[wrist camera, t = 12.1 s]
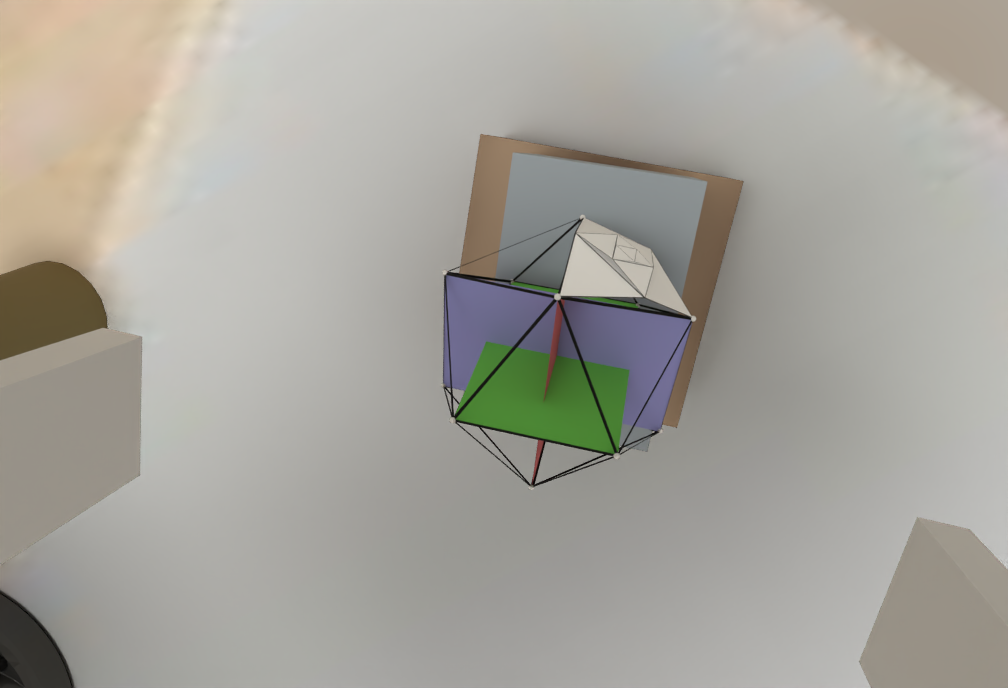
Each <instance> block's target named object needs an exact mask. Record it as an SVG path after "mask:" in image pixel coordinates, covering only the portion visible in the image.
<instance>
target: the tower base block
mask: <svg viewBox="0 0 1008 688" xmlns="http://www.w3.org/2000/svg"><path fill="white" fill-rule="evenodd" d="M513 153H530V154H540V155H547V156H553V157H560V158H567V159H573V160H580V161H587V162H593V163H600V164H607V165H614V166H620V167H627V168H634V169H640V170H647V171H654V172H660V173H667V174H674V175H681V176H687V177H694V178H697V179H700V180H704V181H707V186H706V191H705V195H704V200H703V204H702V209H701V213H700V218H699V222H698V227H697V231H696V236H695V240H694V245H693V249H692V254H691V258H690V263H689V267H688V271H687V276H686V280H685V285H684V289H683V294H682V298H681V299H682V300H683V302H684V304H685V305H686V307H687V309H688V310H689V312H690V314H691V315H692V316H695V317H696V321H694V322H692V326H691V329H690V333H689V336H688V339H687V343H686V346H685V349H684V353H683V356H682V359H681V363H680V366H679V370H678V373H677V376H676V380H675V383H674V386H673V390H672V393H671V397H670V400H669V403H668V407H667V410H666V413H665V417H664V420H663V425H667V426H672V427H676V428H677V426H678V422H679V418H680V415H681V411H682V407H683V404H684V400H685V396H686V392H687V389H688V385H689V381H690V378H691V374H692V370H693V366H694V363H695V359H696V355H697V352H698V348H699V344H700V341H701V337H702V333H703V329H704V326H705V322H706V318H707V315H708V311H709V307H710V303H711V300H712V296H713V292H714V289H715V285H716V281H717V277H718V274H719V270H720V266H721V263H722V259H723V255H724V252H725V248H726V244H727V240H728V237H729V233H730V229H731V226H732V222H733V218H734V214H735V211H736V207H737V203H738V200H739V196H740V192H741V189H742V185H743V181H740V180H735V179H730V178H725V177H720V176H714V175H708V174H703V173H697V172H692V171H686V170H680V169H675V168H669V167H664V166H658V165H653V164H647V163H641V162H636V161H630V160H625V159H619V158H614V157H608V156H602V155H597V154H591V153H586V152H580V151H574V150H569V149H563V148H558V147H552V146H547V145H541V144H535V143H530V142H524V141H519V140H513V139H507V138H502V137H496V136H490V135H483V134H481V135H480V141H479V148H478V154H477V161H476V167H475V174H474V180H473V187H472V194H471V200H470V207H469V213H468V220H467V226H466V233H465V239H464V246H463V252H462V259H461V265H460V266H461V267H460V272H459V273H460V274H467V275H475V276H483V277H490V278H495V276H496V269H497V262H498V255H499V252H497V251H499V248H500V240H501V233H502V226H503V219H504V212H505V205H506V197H507V190H508V183H509V176H510V169H511V162H512V154H513ZM494 252H496V253H494ZM492 253H494V254H492ZM490 254H491V255H490ZM487 255H489V256H487ZM485 256H486V257H485ZM482 257H484V258H482ZM480 258H481V259H480ZM477 259H479V260H477ZM475 260H476V261H475ZM472 261H474V262H472ZM470 262H471V263H470ZM467 263H469V264H467ZM465 264H466V265H465ZM462 265H464V266H462ZM482 280H484V279H482ZM487 281H492V280H487ZM492 282H495V281H492ZM678 314H681V313H679V312H678ZM681 315H683V314H681ZM685 316H686V315H685Z"/></svg>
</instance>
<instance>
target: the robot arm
mask: <svg viewBox="0 0 1008 688" xmlns="http://www.w3.org/2000/svg"><path fill="white" fill-rule="evenodd" d="M141 376H142V337H141V336H137V335H132V334H128V333H124V332H119V331H115V330H111V329H107V328H101V329H97V330H94V331H91V332H88V333H85V334H82V335H79V336H75V337H72V338H69V339H66V340H63V341H60V342H57V343H53V344H50V345H47V346H44V347H41V348H38V349H35V350H31V351H28V352H25V353H22V354H19V355H16V356H13V357H9V358H6V359H3V360H0V565H2V564H3V563H5V562H6V561H8V560H9V559H11V558H12V557H14V556H16V555H17V554H19V553H20V552H22V551H23V550H25V549H26V548H28V547H29V546H31V545H33V544H34V543H36V542H37V541H39V540H40V539H42V538H43V537H45V536H46V535H48V534H50V533H51V532H53V531H54V530H56V529H57V528H59V527H60V526H62V525H63V524H65V523H67V522H68V521H70V520H71V519H73V518H74V517H76V516H77V515H79V514H81V513H82V512H84V511H85V510H87V509H88V508H90V507H91V506H93V505H94V504H96V503H98V502H99V501H101V500H102V499H104V498H105V497H107V496H108V495H110V494H111V493H113V492H115V491H116V490H118V489H119V488H121V487H122V486H124V485H125V484H127V483H128V482H130V481H132V480H133V479H135V478H136V477H138V476H139V475H140V435H141ZM859 663H860V665H861V667H862V669H863V671H864V673H865V675H866V678H867V680H868V682H869V684H870V686H871V688H1008V570H1007V569H1006V567H1005V566H1004V565H1003V564H1002V563H1001V562H1000V561H999V560H998V559H997V558H996V557H995V556H994V555H993V554H992V553H991V551H990V550H989V549H988V548H987V547H986V546H985V545H984V544H983V543H982V542H981V541H980V540H979V539H978V538H977V537H976V536H975V534H974V533H973V532H972V531H971V530H970V529H966V528H962V527H957V526H953V525H949V524H945V523H940V522H936V521H932V520H927V519H923V518H919V517H917V519H916V522H915V524H914V527H913V529H912V532H911V534H910V536H909V539H908V541H907V544H906V546H905V549H904V551H903V554H902V556H901V559H900V561H899V564H898V566H897V569H896V571H895V574H894V576H893V579H892V581H891V584H890V586H889V589H888V591H887V594H886V596H885V599H884V601H883V604H882V606H881V609H880V611H879V614H878V616H877V619H876V621H875V623H874V626H873V628H872V631H871V633H870V636H869V638H868V641H867V643H866V646H865V648H864V651H863V653H862V656H861V658H860V661H859ZM0 688H71V684H70V681H69V677H68V674H67V671H66V669H65V666H64V664H63V662H62V660H61V658H60V656H59V654H58V652H57V651H56V649H55V647H54V646H53V644H52V643H51V641H50V640H49V638H48V637H47V636H46V634H45V633H44V632H43V631H42V629H41V628H40V627H39V626H38V625H37V624H36V623H35V622H34V620H33V619H32V618H30V617H29V616H28V615H27V614H26V613H25V612H24V611H23V610H22V609H21V608H19V607H18V606H17V605H16V604H14V603H13V602H12V601H10V600H9V599H7V598H6V597H4V596H3V595H1V594H0Z"/></svg>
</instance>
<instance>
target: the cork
mask: <svg viewBox="0 0 1008 688" xmlns="http://www.w3.org/2000/svg"><path fill="white" fill-rule="evenodd" d="M101 328H107V316H106V313H105V310H104V307H103V304H102V301H101V299H100V297H99V295H98V294H97V292H96V291H95V289H94V288H93V286H92V284H91V283H90V282H89V281H87V280H86V279H85V278H84V277H83V276H82V275H81V274H80V273H79V272H78V271H76V270H74V269H72V268H70V267H68V266H66V265H64V264H62V263H56V262H50V261H45V262H40V263H34V264H31V265H28V266H25V267H22V268H19V269H17V270H14V271H11V272H8V273H5V274H2V275H0V360H3V359H6V358H9V357H13V356H16V355H19V354H22V353H25V352H28V351H31V350H35V349H38V348H41V347H44V346H47V345H50V344H53V343H57V342H60V341H63V340H66V339H69V338H72V337H75V336H79V335H82V334H85V333H88V332H91V331H94V330H97V329H101Z"/></svg>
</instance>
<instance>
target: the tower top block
mask: <svg viewBox="0 0 1008 688" xmlns="http://www.w3.org/2000/svg"><path fill="white" fill-rule="evenodd" d="M706 186H707V181H704V180H700V179H697V178H694V177H687V176H681V175H674V174H667V173H660V172H654V171H647V170H640V169H634V168H627V167H620V166H614V165H607V164H600V163H593V162H587V161H580V160H573V159H567V158H560V157H553V156H547V155H540V154H530V153H513V154H512V162H511V169H510V176H509V183H508V190H507V197H506V205H505V212H504V219H503V226H502V233H501V240H500V248H499V250H501V251H499V255H498V262H497V269H496V276H495V278H498V279H505V280H511V279H514V278H515V277H516V276H517V275H519V274H520V273H521V272H522V271H523V270H524V269H525V268H526V267H527V266H528V265H530V264H531V263H532V262H533V261H534V260H535V259H536V258H537V257H538V256H539V255H541V254H542V253H543V252H544V251H545V250H546V249H547V248H548V247H549V246H550V245H552V244H553V243H554V242H555V241H556V240H557V239H558V238H559V237H560V236H561V235H563V234H564V233H565V232H566V231H567V230H568V229H569V228H570V227H571V226H573V225H574V224H575V223H576V222H577V221H578V220H579V218H580V216H581V215H585V217H586V218H587V219H589V220H591V221H593V222H595V223H597V224H599V225H602V226H604V227H606V228H608V229H610V230H612V231H614V232H616V233H618V234H621V235H623V236H625V237H627V238H629V239H631V240H633V241H635V242H638V243H640V244H642V245H644V246H646V247H648V248H650V249H652V251H653V252H654V254H655V256H656V257H657V259H658V261H659V262H660V264H661V266H662V267H663V269H664V271H665V272H666V274H667V276H668V277H669V279H670V281H671V282H672V284H673V286H674V287H675V289H676V290H677V292H678V294H679V295H680V297H681V298H682V294H683V289H684V285H685V280H686V276H687V271H688V267H689V263H690V258H691V254H692V249H693V245H694V240H695V236H696V231H697V227H698V222H699V218H700V213H701V209H702V204H703V200H704V195H705V191H706ZM577 219H578V220H577ZM574 220H576V221H574ZM572 221H573V222H572ZM569 222H571V223H569ZM580 222H581V221H580ZM580 222H579V223H578V224H577V225H576V226H575V227H574V228H573V229H572V230H570V231H569V232H568V233H567V234H566V235H565V236H564V237H563V238H562V239H561V240H559V241H558V242H557V243H556V244H555V245H554V246H553V247H552V248H551V249H549V250H548V251H547V252H546V253H545V254H544V255H543V256H542V257H541V258H539V259H538V260H537V261H536V262H535V263H534V264H533V265H532V266H531V267H529V268H528V269H527V270H526V271H525V272H524V273H523V274H522V275H521V276H519V277H518V278H517V279H516V280H515V281H518V282H523V283H529V284H534V285H539V286H545V287H550V288H556V289H559V288H560V285H561V282H562V279H563V276H564V272H565V268H566V264H567V261H568V257H569V253H570V249H571V245H572V241H573V238H574V234H575V231H576V229H577V227H578V226H579V224H580ZM567 223H568V224H567ZM564 224H566V225H564ZM562 225H563V226H562ZM559 226H561V227H559ZM557 227H558V228H557ZM554 228H556V229H554ZM552 229H553V230H552ZM549 230H551V231H549ZM547 231H548V232H547ZM544 232H546V233H544ZM542 233H543V234H542ZM539 234H541V235H539ZM537 235H538V236H537ZM534 236H536V237H534ZM532 237H533V238H532ZM529 238H531V239H529ZM527 239H528V240H527ZM524 240H526V241H524ZM522 241H523V242H522ZM519 242H521V243H519ZM517 243H518V244H517ZM514 244H516V245H514ZM512 245H514V246H512ZM509 246H511V247H509ZM507 247H509V248H507ZM504 248H506V249H504ZM502 249H504V250H502ZM495 282H498V283H503V284H510V283H508V282H500V281H495ZM610 299H616V300H621V301H626V302H632V303H636V302H635V301H634V299H633V298H610ZM635 299H636V301H637V302H638V303H640V304H641V305H645V306H649V307H653V308H657V309H661V310H665V311H669V312H673V313H677V314H678V312H676V311H674V310H671V309H669V308H667V307H664V306H662V305H659V304H657V303H655V302H652V301H650V300H647V299H643V298H635ZM639 308H640V309H646V310H652V311H657V310H653V309H649V308H645V307H641V306H640V307H639ZM658 312H660V311H658ZM631 428H632V426H630V425H626V424H622V428H621V435H620V443H619V446H622V444H623V443H624V441H625V439H626V437H627V435H628V434H629V432H630V430H631ZM651 433H652V430H649V429H645V428H640V427H635V426H634V428H633V430H632V432H631V434H630V435H629V437H628V439H627V441H626V443H625V444H624V446H625V445H627V444H629V443H631V442H634V441H636V440H638V439H641V438H643V437H645V436H648V435H650V434H651ZM649 437H650V436H649ZM647 438H648V437H647ZM647 438H645V439H647ZM645 439H642V440H640V441H638V442H635V443H633V444H631V445H629V446H626V447H627V448H631V447H633V446H634V447H633V448H632V449H637V450H642V451H646V452H647V451H648V446H649V442H650V438H648V439H647V440H645ZM643 440H645V441H643ZM642 441H643V442H642ZM640 442H641V443H640ZM638 443H640V444H638ZM636 444H638V445H636ZM635 445H636V446H635Z"/></svg>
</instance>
